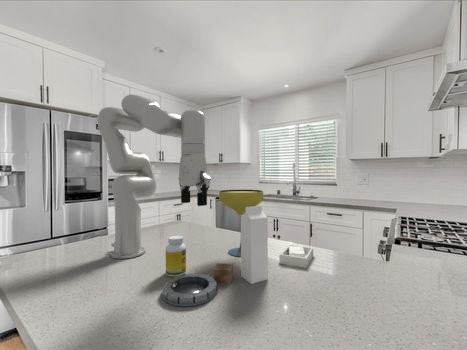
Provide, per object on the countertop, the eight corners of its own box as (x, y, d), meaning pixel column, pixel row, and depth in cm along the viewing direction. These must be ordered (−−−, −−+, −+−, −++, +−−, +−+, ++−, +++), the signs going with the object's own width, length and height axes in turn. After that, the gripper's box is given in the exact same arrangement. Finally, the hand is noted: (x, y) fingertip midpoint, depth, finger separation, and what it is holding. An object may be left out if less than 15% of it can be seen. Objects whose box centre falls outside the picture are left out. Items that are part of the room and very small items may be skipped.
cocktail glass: (238, 264, 85) (238, 193, 85) (210, 251, 100) (210, 190, 99) (273, 253, 97) (272, 191, 97) (243, 243, 111) (243, 188, 111)
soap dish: (279, 263, 86) (279, 254, 86) (289, 252, 98) (289, 244, 98) (306, 267, 82) (306, 258, 82) (313, 255, 93) (313, 247, 93)
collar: (150, 298, 62) (150, 290, 62) (186, 276, 75) (186, 270, 75) (196, 313, 55) (196, 304, 55) (227, 286, 68) (227, 279, 68)
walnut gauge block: (213, 283, 71) (213, 269, 71) (217, 275, 76) (217, 263, 76) (230, 284, 70) (230, 270, 70) (232, 276, 75) (232, 264, 75)
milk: (268, 279, 73) (268, 206, 73) (251, 284, 70) (251, 208, 70) (256, 272, 78) (256, 204, 78) (240, 276, 75) (240, 205, 75)
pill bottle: (181, 278, 74) (180, 240, 74) (161, 276, 75) (161, 239, 75) (189, 269, 81) (189, 235, 80) (171, 268, 82) (171, 234, 82)
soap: (288, 253, 95) (288, 245, 95) (303, 254, 94) (303, 246, 94) (289, 261, 86) (289, 253, 86) (305, 262, 85) (305, 254, 85)
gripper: (169, 151, 81) (170, 202, 81) (198, 147, 68) (198, 208, 68) (189, 153, 86) (189, 201, 86) (219, 149, 73) (219, 205, 73)
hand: (193, 204), depth 77 cm, fingers open, 9 cm apart
